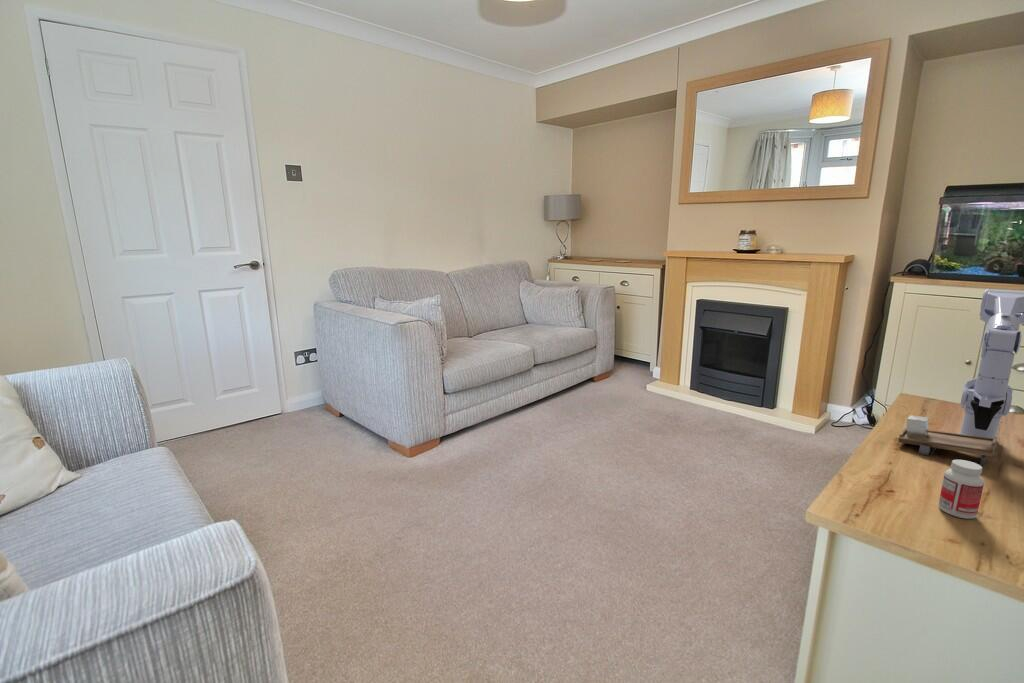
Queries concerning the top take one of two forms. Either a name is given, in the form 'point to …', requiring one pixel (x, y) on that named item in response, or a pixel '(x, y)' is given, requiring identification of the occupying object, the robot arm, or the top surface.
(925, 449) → the beam stand
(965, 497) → the pill bottle
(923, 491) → the top surface
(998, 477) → the top surface
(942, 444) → the balance beam
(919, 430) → the block
